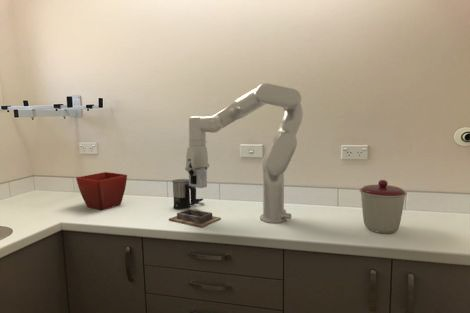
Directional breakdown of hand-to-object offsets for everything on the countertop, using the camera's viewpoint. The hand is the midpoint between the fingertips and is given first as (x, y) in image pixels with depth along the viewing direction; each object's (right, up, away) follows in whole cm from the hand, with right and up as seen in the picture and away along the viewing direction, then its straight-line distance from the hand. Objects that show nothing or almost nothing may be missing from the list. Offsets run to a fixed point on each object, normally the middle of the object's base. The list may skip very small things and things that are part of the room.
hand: (197, 182), depth 156 cm
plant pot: (-55, -15, +29) cm, 64 cm away
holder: (-2, -18, +3) cm, 18 cm away
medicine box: (0, -2, 0) cm, 2 cm away
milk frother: (-8, -15, +28) cm, 32 cm away
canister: (+79, -19, -13) cm, 82 cm away
